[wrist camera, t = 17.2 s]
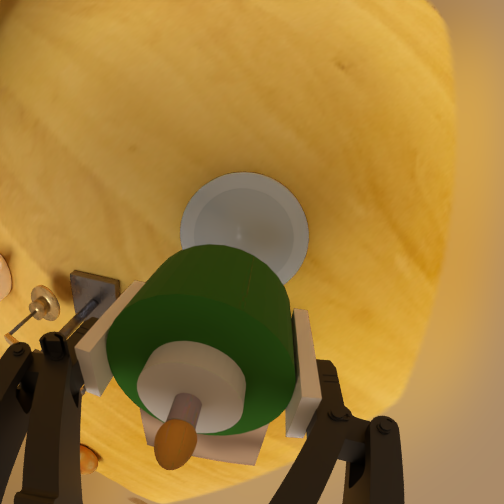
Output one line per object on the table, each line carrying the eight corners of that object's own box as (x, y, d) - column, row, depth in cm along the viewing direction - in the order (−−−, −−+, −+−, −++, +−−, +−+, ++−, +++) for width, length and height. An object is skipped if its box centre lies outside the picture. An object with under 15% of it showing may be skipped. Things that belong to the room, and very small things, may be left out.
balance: (46, 263, 34) (-30, 317, 19) (158, 288, 34) (96, 376, 19) (53, 306, 36) (-11, 366, 22) (159, 335, 36) (111, 426, 22)
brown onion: (74, 442, 47) (62, 467, 42) (104, 459, 50) (92, 484, 44) (73, 436, 53) (62, 459, 48) (100, 452, 56) (89, 474, 50)
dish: (189, 164, 29) (185, 165, 28) (318, 183, 29) (320, 184, 27) (180, 281, 33) (177, 286, 32) (294, 299, 33) (295, 305, 32)
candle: (320, 294, 16) (359, 455, 6) (243, 385, 18) (224, 522, 9) (184, 214, 15) (63, 320, 5) (131, 326, 17) (52, 446, 8)
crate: (176, 300, 34) (134, 373, 22) (276, 316, 34) (275, 401, 22) (176, 371, 38) (147, 444, 26) (260, 386, 38) (254, 465, 26)
